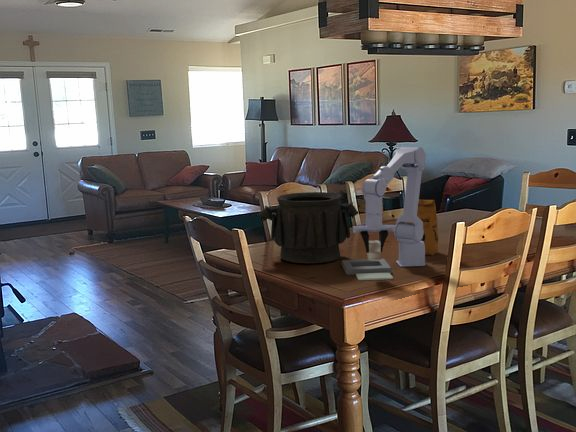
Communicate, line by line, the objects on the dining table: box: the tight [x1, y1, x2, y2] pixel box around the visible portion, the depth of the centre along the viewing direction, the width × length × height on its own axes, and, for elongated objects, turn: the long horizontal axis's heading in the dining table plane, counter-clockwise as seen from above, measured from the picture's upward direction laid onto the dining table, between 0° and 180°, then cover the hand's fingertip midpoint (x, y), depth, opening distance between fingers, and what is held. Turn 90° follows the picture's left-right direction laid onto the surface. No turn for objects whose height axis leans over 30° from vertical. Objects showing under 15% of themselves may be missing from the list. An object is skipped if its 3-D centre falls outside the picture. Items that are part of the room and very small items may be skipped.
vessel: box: [257, 191, 359, 264], centre depth 253 cm, size 31×32×25 cm
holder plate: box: [341, 258, 392, 276], centre depth 235 cm, size 16×14×2 cm
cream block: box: [366, 240, 382, 260], centre depth 222 cm, size 4×4×6 cm
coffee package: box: [406, 198, 439, 256], centre depth 257 cm, size 10×12×22 cm
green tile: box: [355, 272, 394, 281], centre depth 223 cm, size 12×7×1 cm, turn 93°
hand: (374, 252), depth 222 cm, fingers closed on cream block, 4 cm apart
